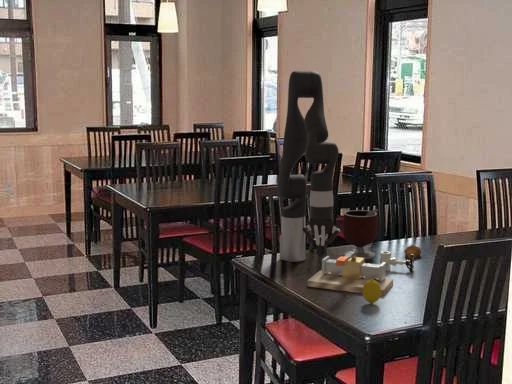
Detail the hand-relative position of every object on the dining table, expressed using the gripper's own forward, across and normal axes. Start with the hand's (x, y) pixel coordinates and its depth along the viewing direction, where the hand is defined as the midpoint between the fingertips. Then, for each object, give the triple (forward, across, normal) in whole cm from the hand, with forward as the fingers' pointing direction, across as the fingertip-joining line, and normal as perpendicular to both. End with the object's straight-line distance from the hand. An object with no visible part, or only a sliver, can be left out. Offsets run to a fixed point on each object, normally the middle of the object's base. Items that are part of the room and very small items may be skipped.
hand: (321, 256), depth 205 cm
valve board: (+12, +7, +9) cm, 17 cm away
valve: (+12, +17, +33) cm, 39 cm away
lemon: (+12, +18, -6) cm, 23 cm away
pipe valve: (+10, +7, +13) cm, 18 cm away
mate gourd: (+12, 0, +48) cm, 49 cm away
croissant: (+12, +19, +55) cm, 59 cm away
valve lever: (+2, +7, +6) cm, 9 cm away
